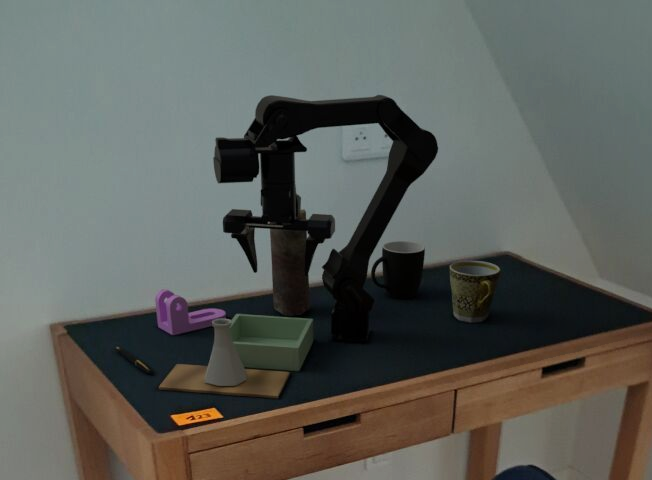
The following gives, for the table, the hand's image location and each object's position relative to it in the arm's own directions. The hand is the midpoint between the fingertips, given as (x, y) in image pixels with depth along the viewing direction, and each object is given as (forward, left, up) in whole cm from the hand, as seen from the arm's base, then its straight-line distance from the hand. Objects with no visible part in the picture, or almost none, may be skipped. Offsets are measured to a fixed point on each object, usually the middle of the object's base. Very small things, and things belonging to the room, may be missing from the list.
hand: (281, 273), depth 153 cm
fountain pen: (+24, +13, -13) cm, 31 cm away
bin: (+2, +5, -13) cm, 14 cm away
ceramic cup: (-35, -20, -13) cm, 42 cm away
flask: (+6, +19, -13) cm, 24 cm away
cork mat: (+6, +19, -13) cm, 24 cm away
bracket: (+19, -7, -13) cm, 24 cm away
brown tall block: (+2, -18, -13) cm, 22 cm away
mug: (-18, -32, -13) cm, 39 cm away
